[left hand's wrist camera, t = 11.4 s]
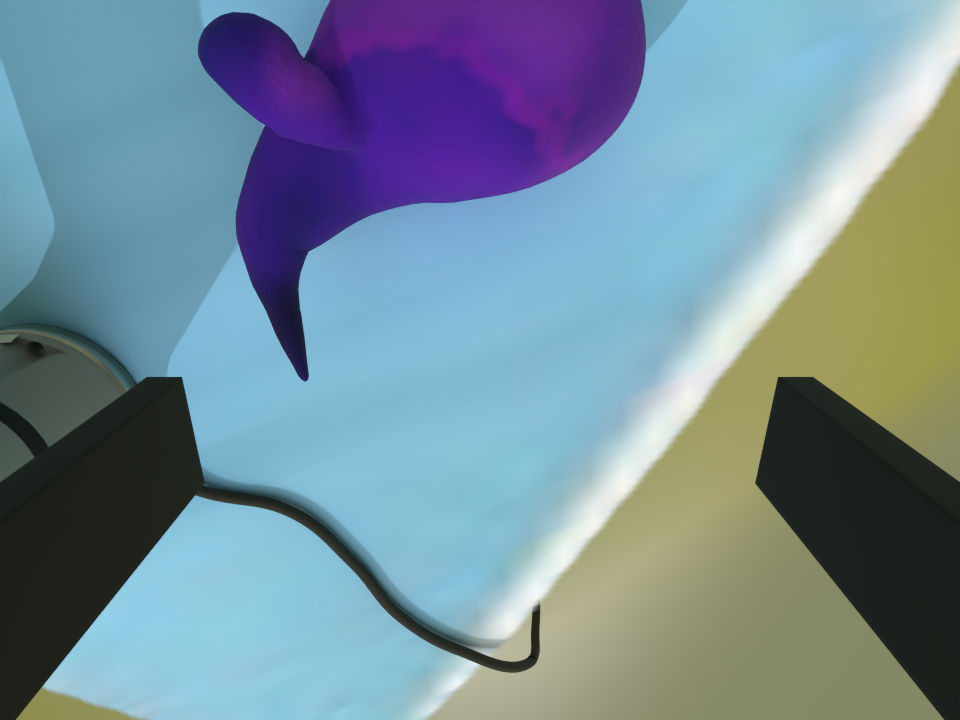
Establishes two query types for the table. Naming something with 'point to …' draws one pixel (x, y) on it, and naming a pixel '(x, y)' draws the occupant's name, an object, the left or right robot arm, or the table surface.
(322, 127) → the toy
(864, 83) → the table surface
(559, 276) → the table surface
